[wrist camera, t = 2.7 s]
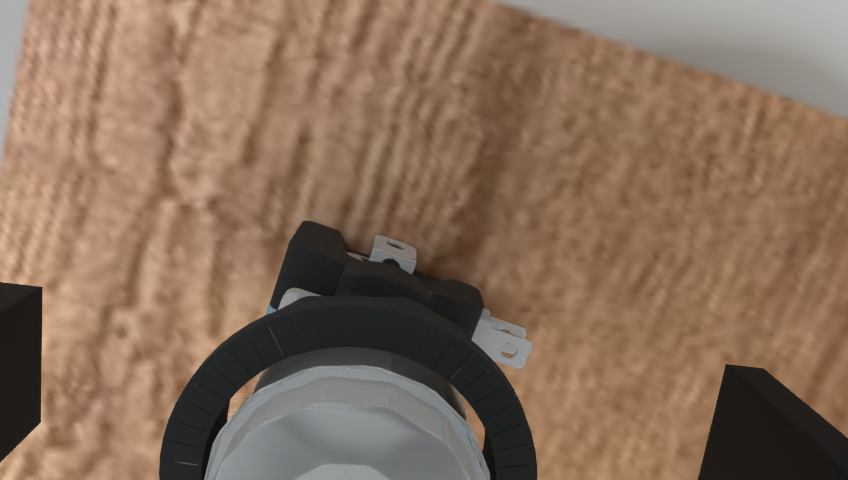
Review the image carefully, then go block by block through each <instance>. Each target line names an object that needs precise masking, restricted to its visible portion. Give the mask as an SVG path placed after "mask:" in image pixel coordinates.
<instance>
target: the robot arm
mask: <svg viewBox="0 0 848 480" xmlns="http://www.w3.org/2000/svg"><path fill="white" fill-rule="evenodd" d="M41 351H42V287H37V286H28V285H19V284H11V283H2V282H0V462H1V461H2V460H3V459H4V458H5V457H6V456H7V455H8V454H9V453H10V452H11V451H12V450H13V449H14V448H15V447H16V446H17V445H18V444H19V443H20V442H21V441H22V440H23V439H24V438H25V437H26V436H27V435H28V434H29V433H30V432H31V431H32V430H33V429H34V428H35V427H36V426H37V425H38V424H39V423H40V422H41ZM698 480H848V438H847V437H846V436H844V435H843V434H842V433H841V432H840V431H838V430H837V429H836V428H835V427H833V426H832V425H831V424H830V423H829V422H827V421H826V420H825V419H824V418H823V417H821V416H820V415H819V414H818V413H817V412H815V411H814V410H813V409H812V408H810V407H809V406H808V405H807V404H806V403H804V402H803V401H802V400H801V399H800V398H798V397H797V396H796V395H795V394H794V393H792V392H791V391H790V390H789V389H788V388H786V387H785V386H784V385H783V384H781V383H780V382H779V381H778V380H777V379H775V378H774V377H773V376H772V375H771V374H769V373H768V372H767V371H766V370H765V369H763V368H754V367H745V366H736V365H727V364H726V366H725V370H724V375H723V379H722V383H721V387H720V391H719V395H718V399H717V403H716V408H715V412H714V416H713V420H712V424H711V428H710V432H709V436H708V441H707V445H706V449H705V453H704V457H703V461H702V465H701V469H700V474H699V478H698Z"/></svg>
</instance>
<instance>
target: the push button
mask: <svg viewBox="0 0 848 480" xmlns="http://www.w3.org/2000/svg"><path fill="white" fill-rule="evenodd" d="M388 244H391V245H395V246H397V247H399V248H401V249H398V248H395V247H392V246H390V245H388ZM416 262H417V261H416V248H414V247H413V246H411V245H409V244H406V243H403V242H400V241H397V240H394V239H391V238H388V237H385V236H382V235H375V237H374V243H373V249H372V252H371V255H370V256H369V255H366V254H363V253H360V252H357V251H354V250H351V249H348V248H345V247H344V244H343V240H342V237H341V234H340V233H339V232H338V231H336V230H335V229H332V228H330V227H327V226H324V225H321V224H318V223H315V222H311V221H303V222H302V223H301V225H300V227H299V228H298V230H297V231H296V233H295V234H294V236H293V237H292V239H291V240H290V242H289V245H288V248H287V251H286V255H285V258H284V261H283V264H282V267H281V270H280V273H279V276H278V279H277V283H276V286H275V289H274V292H273V295H272V298H271V301H270V304H269V307H268V311H267V314H266V316H264V317H262V318H260V319H258V320H256V321H254V322H252V323H250V324H248V325H247V326H245V327H244V328H242V329H241V330H239V331H238V332H236V333H235V334H233V335H232V336H231V337H229V338H228V339H227V340H226V341H225V342H223V343H222V344H221V345H220V346H218V347H217V348H216V349H215V350H214V351H213V353H212V354H211V355H210V356H209V357H208V358H207V359H206V360H205V361H204V362H203V363H202V365H201V366H200V367H199V369H198V370H197V371H196V373H195V374H194V375H193V377H192V378H191V380H190V381H189V382H188V384H187V385H186V387H185V389H184V390H183V392H182V394H181V395H180V397H179V399H178V401H177V402H176V404H175V407H174V409H173V411H172V413H171V416H170V418H169V421H168V424H167V427H166V430H165V434H164V437H163V442H162V448H161V454H160V469H159V477H160V480H537V462H536V453H535V447H534V443H533V439H532V434H531V431H530V428H529V425H528V422H527V419H526V416H525V414H524V411H523V408H522V405H521V403H520V401H519V399H518V397H517V395H516V393H515V391H514V389H513V387H512V386H511V384H510V383H509V381H508V379H507V378H506V376H505V375H504V373H503V372H502V371H501V370H500V368H499V367H498V366H497V365H496V363H495V362H498V363H501V364H504V365H507V366H510V367H513V368H516V369H521V368H524V365H525V363H526V360H527V358H528V355H529V353H530V351H531V348H532V346H533V345H532V343H531V341H530V340H528V339H525V335H526V333H527V332H526V330H525V327H522V326H519V325H516V324H513V323H510V322H507V321H504V320H501V319H498V318H495V317H492V316H489V314H490V312H491V310H489V309H486V308H484V304H483V300H482V297H481V294H480V292H479V290H478V289H476V288H475V287H473V286H471V285H468V284H465V283H462V282H459V281H456V280H445V281H444V280H441V279H438V278H435V277H432V276H429V275H426V274H423V273H420V272H417V271H414V268H415V266H416ZM503 329H505V330H509V331H510V332H511V333H512V334H509V333H506V332H503V331H500V330H503ZM501 351H503V352H506V353H509V354H512V355H514V356H511V357H505V356H504V355H502V353H501ZM494 361H495V362H494ZM261 371H263V372H262V374H261V376H260V378H259V381H258V383H257V385H256V387H255V389H254V391H253V394H252V396H250V397H249V398H248V399H247V400H246V401H245V402H244V403H243V404H242V406H241V407H240V408H239V409H238V410H237V411H236V413H235V414H234V415H233V416H232V417H231V418H230V420H229V421H228V422H227V415H228V409H229V403H230V399H231V398H232V397H233V395H234V394H235V393H236V392H237V391H238V390H239V389H240V388H241V387H242V386H243V385H245V384H246V383H247V382H248V381H249V380H250V379H252V378H253V377H255V376H256V375H257V374H259V373H260V372H261ZM459 392H460V393H461V394H462V395H463V396H464V398H465V399H466V400H467V401H468V403H469V404H470V405H471V406H472V408H473V409H474V410H475V412H476V414H477V415H478V417H479V419H480V420H481V422H482V424H483V426H484V428H485V439H484V448H483V452H482V451H481V449H480V446H479V443H478V441H477V438H476V435H475V433H474V432H473V430H472V429H471V427H470V426H469V424H468V423H467V420H466V414H465V408H464V405H463V402H462V400H461V398H460V395H459Z"/></svg>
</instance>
